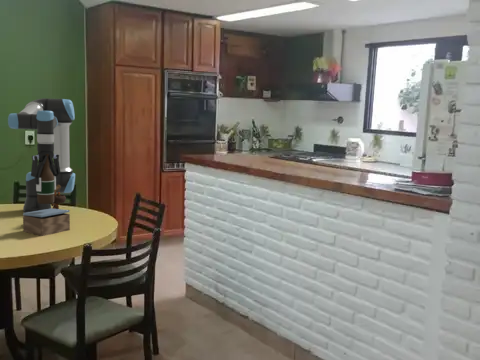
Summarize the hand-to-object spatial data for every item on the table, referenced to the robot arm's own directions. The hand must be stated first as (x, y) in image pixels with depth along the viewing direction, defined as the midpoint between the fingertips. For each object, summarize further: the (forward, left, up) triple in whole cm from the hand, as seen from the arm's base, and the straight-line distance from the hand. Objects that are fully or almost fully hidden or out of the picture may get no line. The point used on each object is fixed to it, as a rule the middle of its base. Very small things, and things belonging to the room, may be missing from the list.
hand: (46, 190), depth 242 cm
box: (0, 0, -20) cm, 20 cm away
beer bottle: (0, 0, -6) cm, 6 cm away
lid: (0, 0, -12) cm, 12 cm away
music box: (-15, -13, -20) cm, 29 cm away
